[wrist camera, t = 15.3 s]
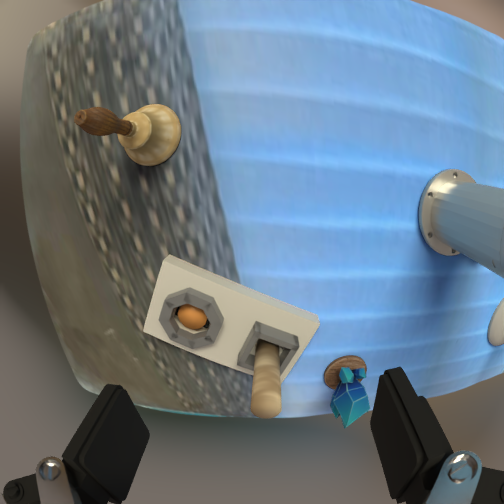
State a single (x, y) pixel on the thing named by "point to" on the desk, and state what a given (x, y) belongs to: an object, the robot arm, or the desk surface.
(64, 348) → the desk surface
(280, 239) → the desk surface
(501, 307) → the candlestick
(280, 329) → the panel
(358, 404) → the gemstone
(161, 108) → the hand bell
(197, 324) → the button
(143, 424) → the robot arm
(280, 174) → the desk surface
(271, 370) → the wooden cylinder rod
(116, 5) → the desk surface
